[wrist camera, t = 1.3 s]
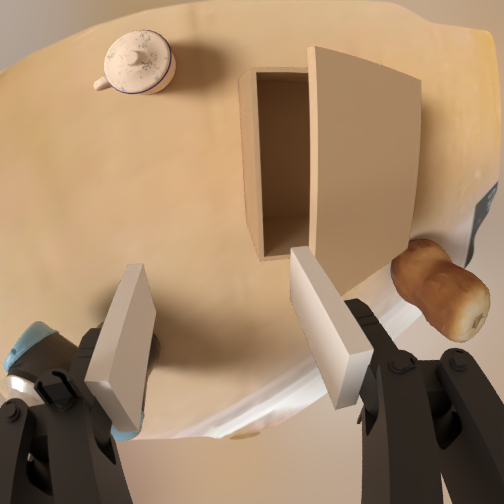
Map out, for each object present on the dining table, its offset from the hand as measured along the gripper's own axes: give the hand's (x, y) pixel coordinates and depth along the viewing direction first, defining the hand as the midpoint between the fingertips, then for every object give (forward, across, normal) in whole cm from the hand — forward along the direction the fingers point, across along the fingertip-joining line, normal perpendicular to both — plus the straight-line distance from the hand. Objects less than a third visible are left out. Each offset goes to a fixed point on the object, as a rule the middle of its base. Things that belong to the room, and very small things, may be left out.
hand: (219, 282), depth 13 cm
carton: (+37, -16, 0) cm, 40 cm away
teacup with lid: (+37, +10, -15) cm, 41 cm away
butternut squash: (+37, -39, +23) cm, 59 cm away
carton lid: (+17, -17, 0) cm, 25 cm away
